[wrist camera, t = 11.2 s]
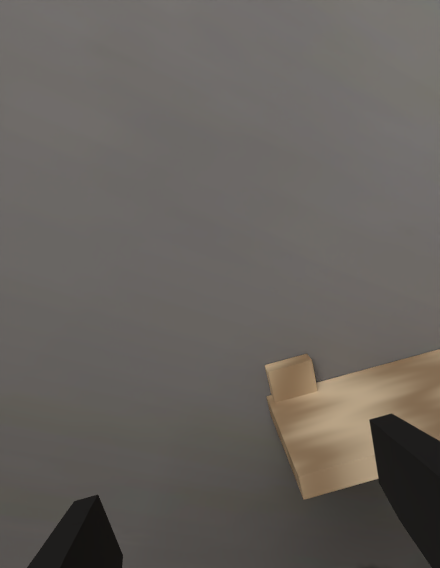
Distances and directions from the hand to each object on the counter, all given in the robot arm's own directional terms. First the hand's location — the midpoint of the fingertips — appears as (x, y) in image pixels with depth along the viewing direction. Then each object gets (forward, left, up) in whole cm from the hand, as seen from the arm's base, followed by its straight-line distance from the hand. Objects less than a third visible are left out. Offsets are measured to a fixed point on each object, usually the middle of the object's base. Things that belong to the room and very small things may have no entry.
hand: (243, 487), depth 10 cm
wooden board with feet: (-9, +5, -10) cm, 15 cm away
